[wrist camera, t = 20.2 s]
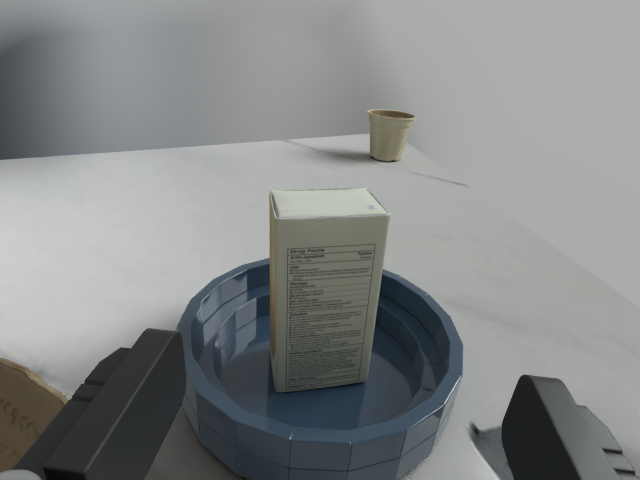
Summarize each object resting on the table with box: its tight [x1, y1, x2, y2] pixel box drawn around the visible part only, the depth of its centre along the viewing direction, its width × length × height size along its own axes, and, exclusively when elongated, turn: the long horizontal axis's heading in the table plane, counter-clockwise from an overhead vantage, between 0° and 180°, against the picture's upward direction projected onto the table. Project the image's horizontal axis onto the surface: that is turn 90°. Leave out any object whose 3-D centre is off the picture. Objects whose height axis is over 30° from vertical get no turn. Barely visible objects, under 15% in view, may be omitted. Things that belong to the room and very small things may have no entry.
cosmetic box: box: [269, 188, 390, 393], centre depth 25 cm, size 6×4×12 cm
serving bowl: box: [177, 258, 463, 480], centre depth 27 cm, size 18×18×4 cm
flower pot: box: [367, 109, 417, 161], centre depth 80 cm, size 9×9×9 cm
